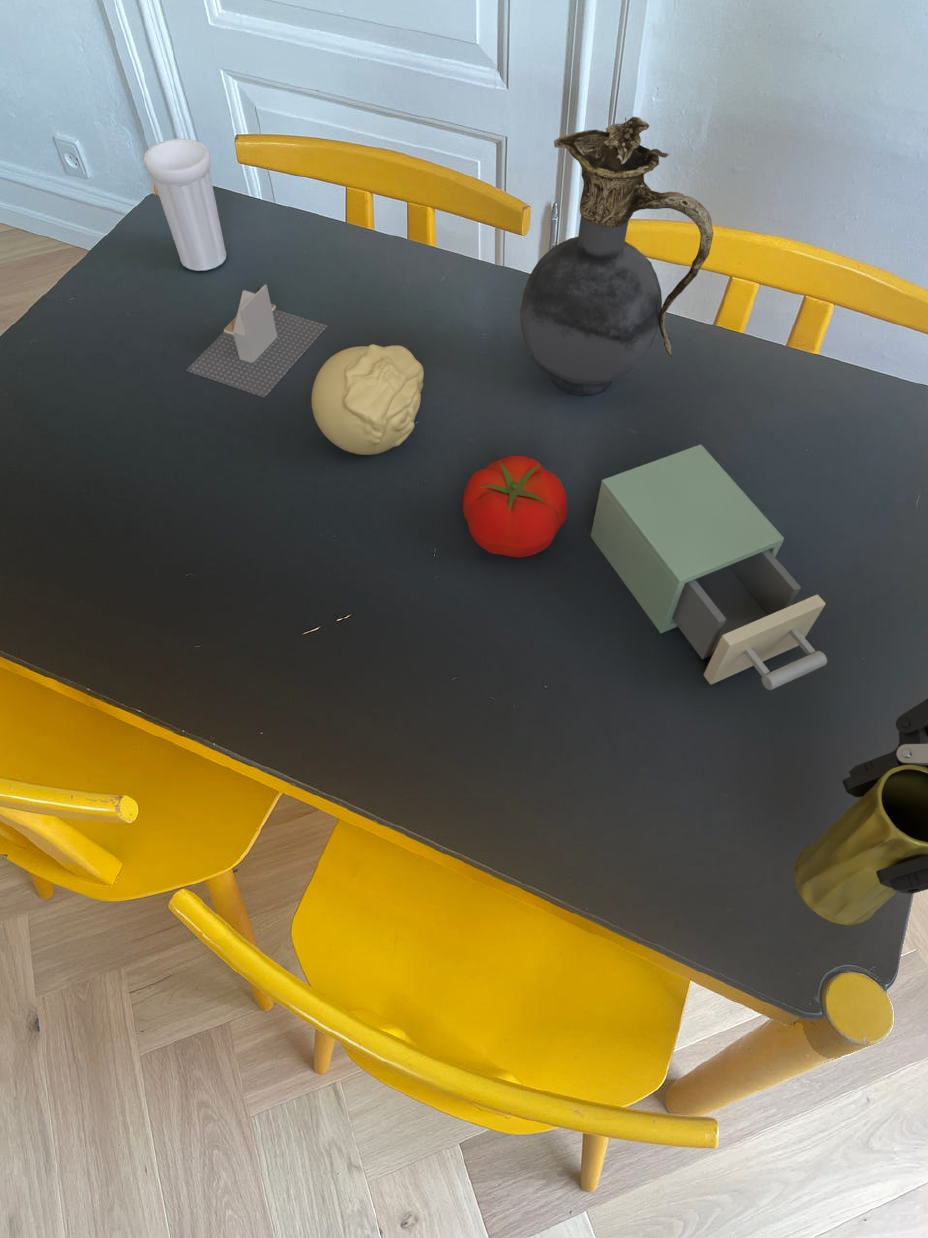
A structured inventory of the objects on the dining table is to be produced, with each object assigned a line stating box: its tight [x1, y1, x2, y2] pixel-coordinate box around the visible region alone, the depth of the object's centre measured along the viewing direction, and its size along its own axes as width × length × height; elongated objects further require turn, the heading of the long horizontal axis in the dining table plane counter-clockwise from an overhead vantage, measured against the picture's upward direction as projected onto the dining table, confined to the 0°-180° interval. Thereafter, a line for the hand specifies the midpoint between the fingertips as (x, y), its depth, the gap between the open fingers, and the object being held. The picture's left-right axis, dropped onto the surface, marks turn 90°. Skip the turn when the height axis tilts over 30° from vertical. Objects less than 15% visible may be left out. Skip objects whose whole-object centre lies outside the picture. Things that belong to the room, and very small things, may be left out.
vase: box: [793, 765, 928, 926], centre depth 56 cm, size 6×6×14 cm
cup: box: [143, 138, 227, 272], centre depth 112 cm, size 8×8×14 cm
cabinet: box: [590, 444, 785, 634], centre depth 85 cm, size 14×12×9 cm
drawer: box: [672, 550, 828, 691], centre depth 80 cm, size 17×10×7 cm, turn 25°
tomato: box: [462, 455, 568, 559], centre depth 88 cm, size 11×11×8 cm
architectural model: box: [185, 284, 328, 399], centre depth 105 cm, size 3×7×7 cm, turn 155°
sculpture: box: [311, 343, 425, 456], centre depth 94 cm, size 12×12×11 cm
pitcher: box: [519, 116, 714, 397], centre depth 92 cm, size 11×19×30 cm, turn 65°
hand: (866, 833), depth 54 cm, fingers closed on vase, 5 cm apart
